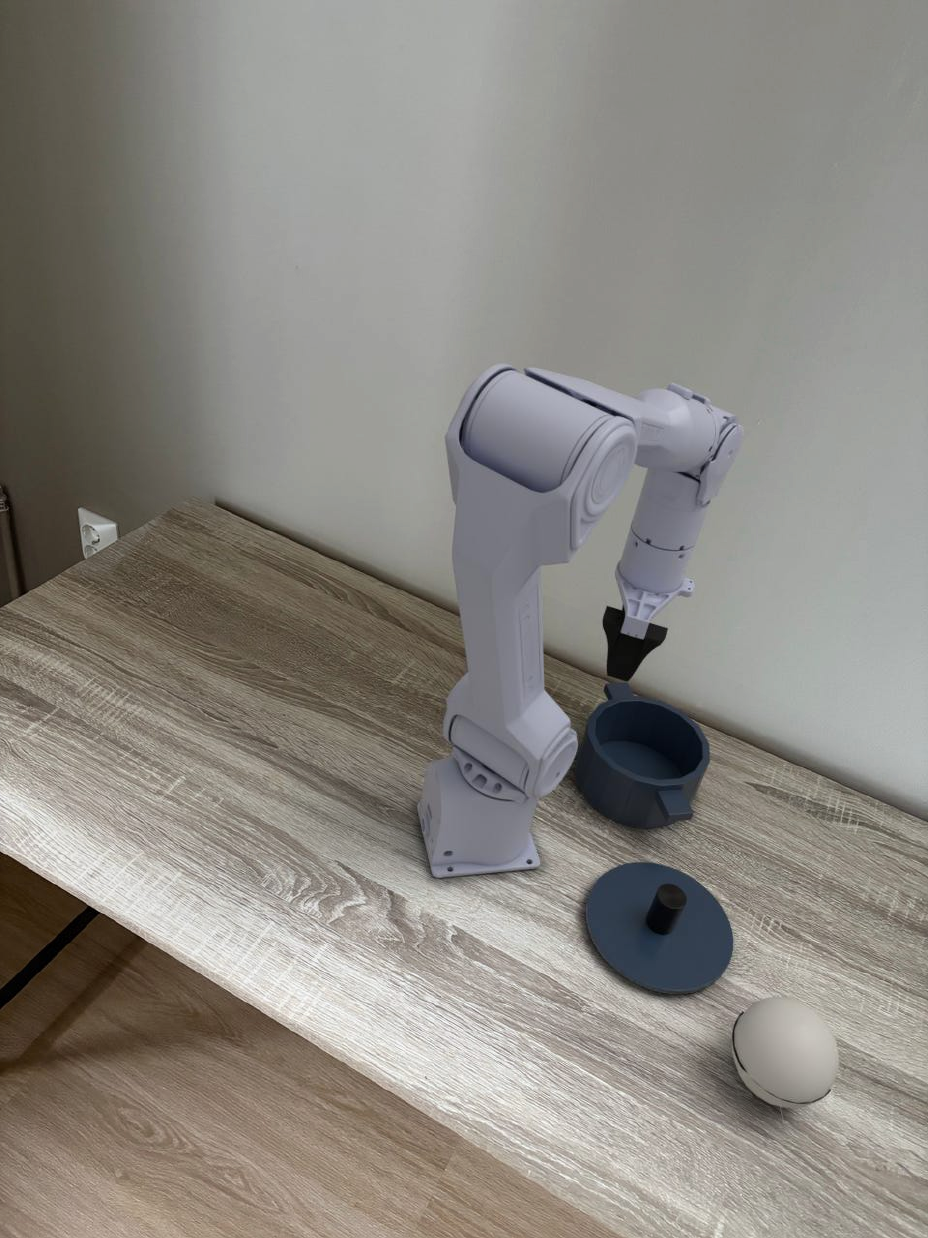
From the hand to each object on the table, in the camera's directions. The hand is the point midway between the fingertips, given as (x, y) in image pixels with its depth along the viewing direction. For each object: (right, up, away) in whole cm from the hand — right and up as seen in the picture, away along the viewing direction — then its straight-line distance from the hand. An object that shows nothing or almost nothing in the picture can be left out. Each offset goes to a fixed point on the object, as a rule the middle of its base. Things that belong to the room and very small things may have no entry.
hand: (625, 652), depth 93 cm
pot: (+1, -12, +1) cm, 13 cm away
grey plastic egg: (+7, -31, -21) cm, 38 cm away
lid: (+1, -22, -12) cm, 25 cm away
